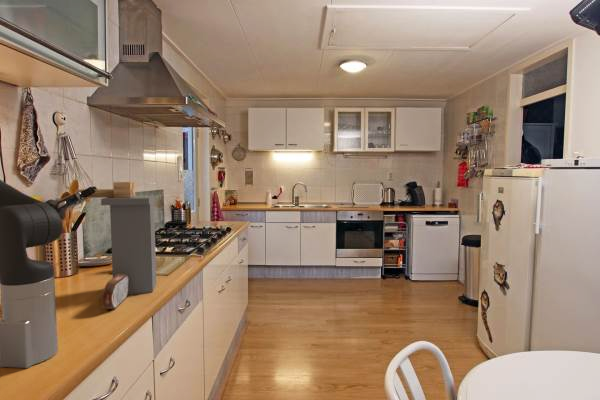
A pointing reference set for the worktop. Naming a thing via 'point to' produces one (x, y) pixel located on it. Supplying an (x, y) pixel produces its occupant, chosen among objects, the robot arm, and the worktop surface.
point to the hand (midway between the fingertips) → (94, 189)
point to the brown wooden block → (114, 191)
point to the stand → (133, 241)
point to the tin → (115, 291)
